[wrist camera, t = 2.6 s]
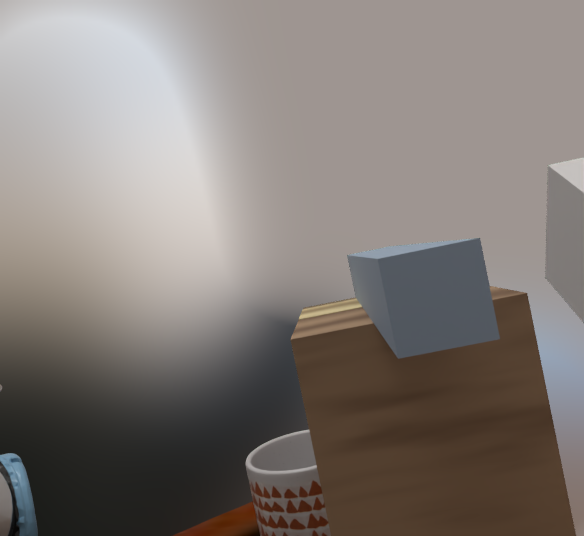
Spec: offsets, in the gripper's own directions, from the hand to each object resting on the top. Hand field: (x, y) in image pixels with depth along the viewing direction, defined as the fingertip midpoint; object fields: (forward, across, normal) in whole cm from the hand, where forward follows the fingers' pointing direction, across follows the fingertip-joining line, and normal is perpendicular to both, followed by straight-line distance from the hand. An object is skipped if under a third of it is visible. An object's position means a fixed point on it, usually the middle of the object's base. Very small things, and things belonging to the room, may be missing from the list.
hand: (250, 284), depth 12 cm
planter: (+29, +6, +56) cm, 64 cm away
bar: (+20, -6, +16) cm, 26 cm away
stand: (+10, -6, +45) cm, 46 cm away
